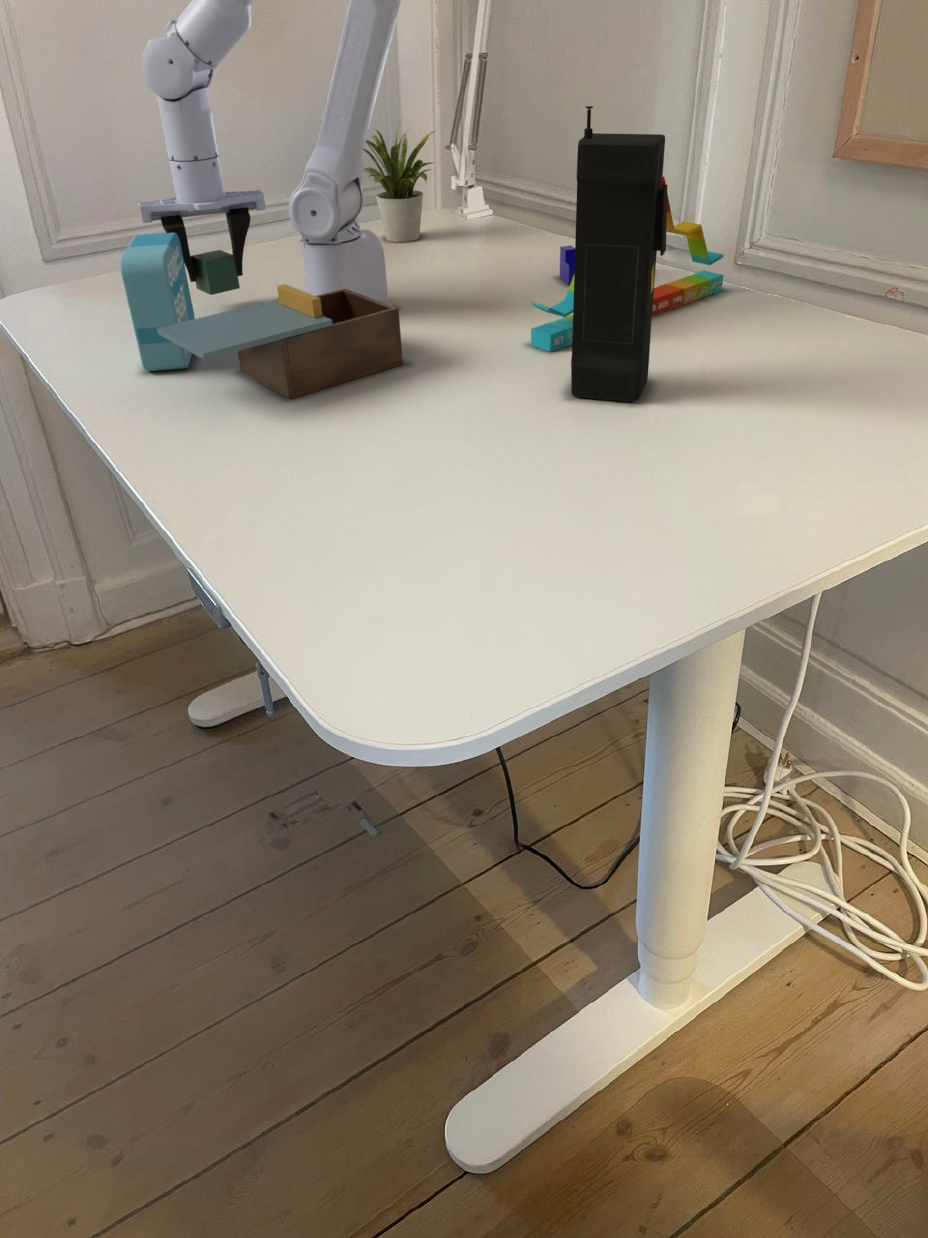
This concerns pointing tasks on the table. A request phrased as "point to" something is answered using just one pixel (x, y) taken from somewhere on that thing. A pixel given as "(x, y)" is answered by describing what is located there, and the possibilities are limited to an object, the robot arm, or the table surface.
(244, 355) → the case
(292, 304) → the sliding box lid
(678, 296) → the chart
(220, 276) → the block
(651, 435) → the table surface
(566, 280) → the cable holder
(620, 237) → the portable radio
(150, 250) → the data package
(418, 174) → the house plant
